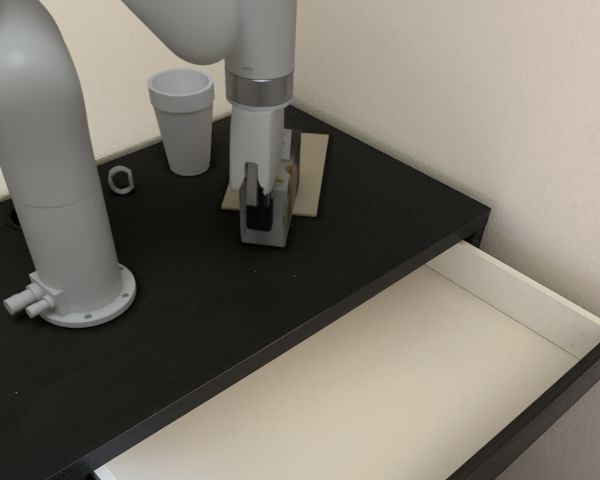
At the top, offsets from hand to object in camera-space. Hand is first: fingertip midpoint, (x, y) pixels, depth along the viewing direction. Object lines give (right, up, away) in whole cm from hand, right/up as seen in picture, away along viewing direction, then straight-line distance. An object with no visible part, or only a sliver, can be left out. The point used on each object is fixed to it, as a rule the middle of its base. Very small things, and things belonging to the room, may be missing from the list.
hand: (259, 227), depth 86 cm
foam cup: (-12, +15, +19) cm, 27 cm away
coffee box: (0, +1, +2) cm, 2 cm away
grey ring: (-21, +9, +14) cm, 27 cm away
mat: (+2, +14, +19) cm, 23 cm away
